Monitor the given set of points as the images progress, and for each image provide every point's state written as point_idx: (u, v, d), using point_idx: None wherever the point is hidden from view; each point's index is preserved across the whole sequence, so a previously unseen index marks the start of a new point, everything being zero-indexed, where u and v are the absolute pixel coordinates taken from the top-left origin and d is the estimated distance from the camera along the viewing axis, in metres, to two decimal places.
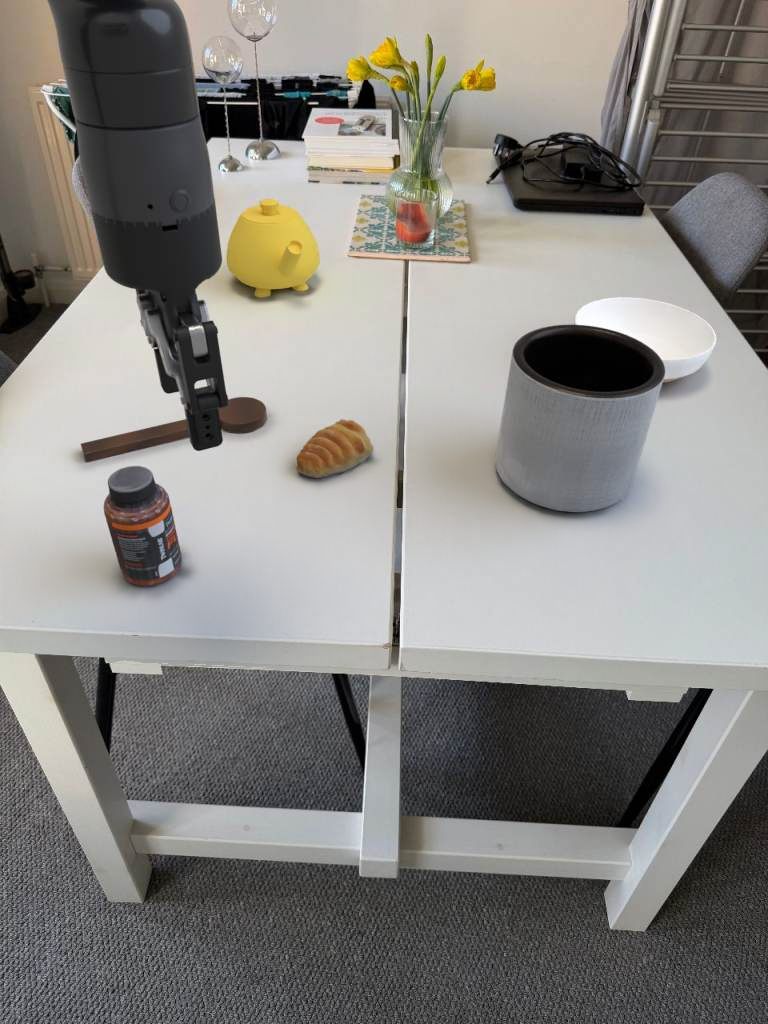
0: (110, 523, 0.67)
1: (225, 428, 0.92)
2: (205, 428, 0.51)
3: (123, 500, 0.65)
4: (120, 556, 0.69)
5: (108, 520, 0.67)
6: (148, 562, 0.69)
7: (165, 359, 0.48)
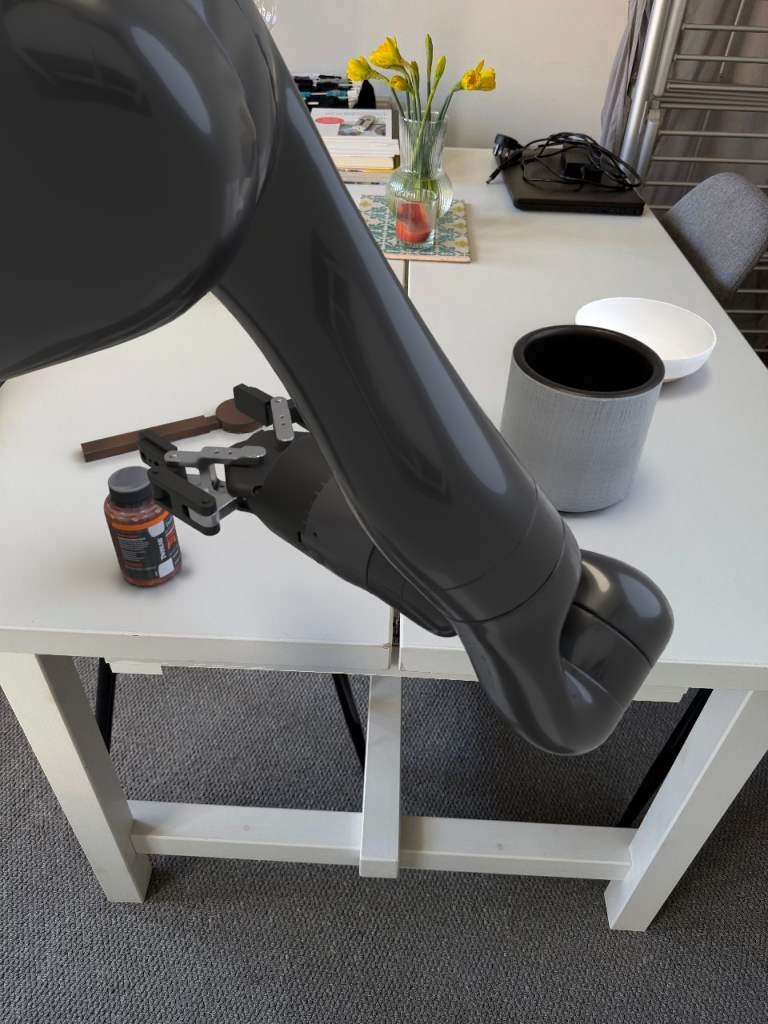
0: (110, 523, 0.67)
1: (225, 428, 0.92)
2: (149, 458, 0.50)
3: (123, 500, 0.65)
4: (120, 556, 0.69)
5: (108, 520, 0.67)
6: (148, 562, 0.69)
7: (212, 457, 0.48)
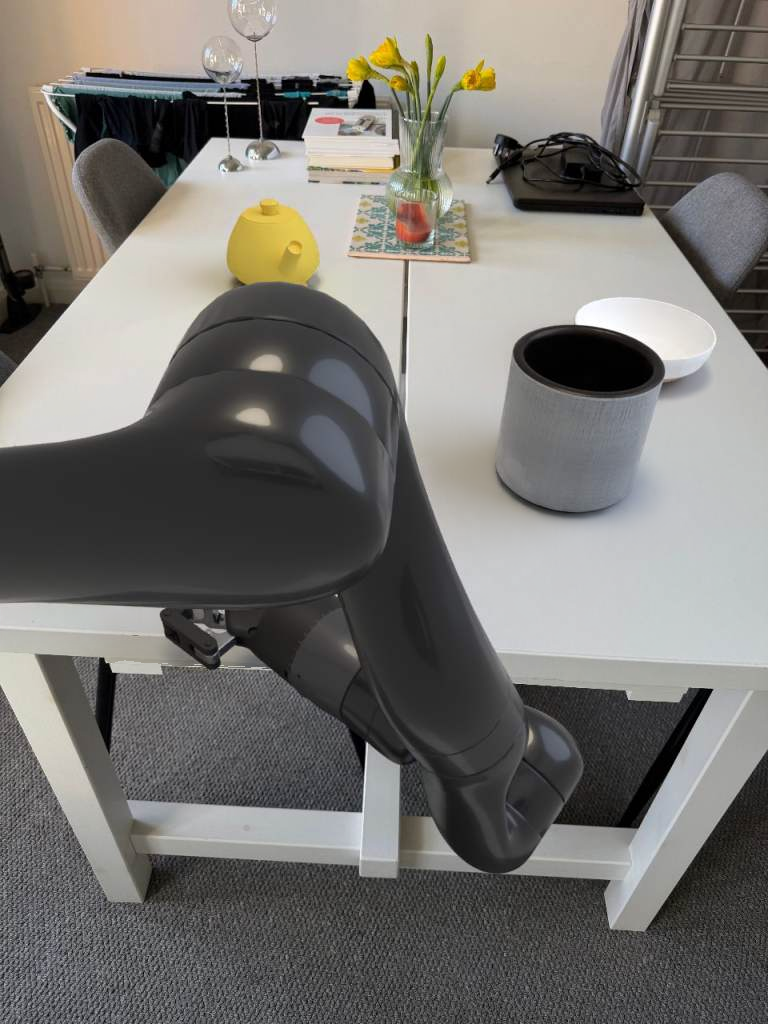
0: None
1: None
2: None
3: None
4: None
5: None
6: None
7: None
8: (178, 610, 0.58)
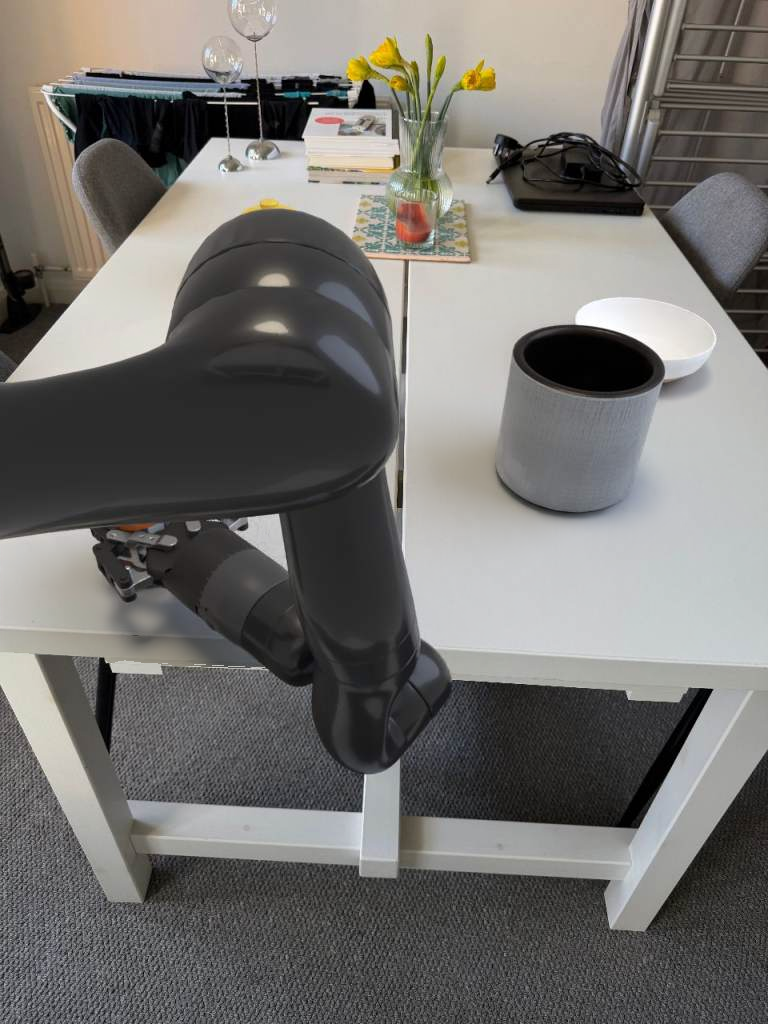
0: None
1: None
2: (96, 534, 0.66)
3: None
4: None
5: None
6: None
7: (137, 540, 0.64)
8: (110, 545, 0.64)
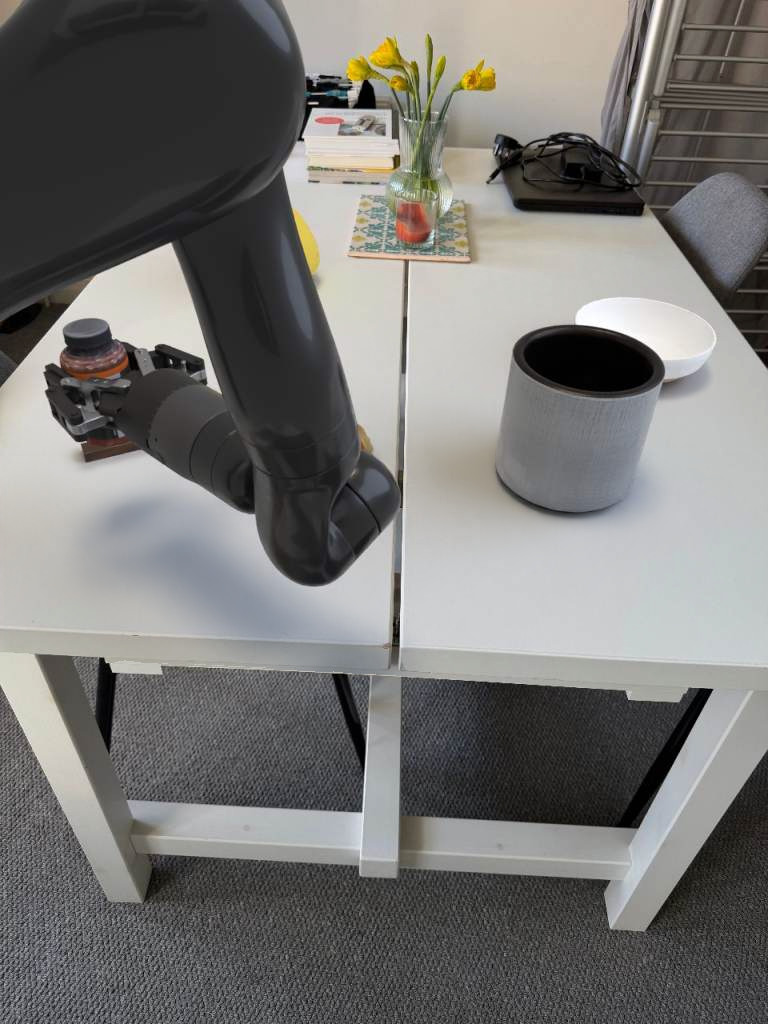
0: None
1: None
2: (52, 384, 0.66)
3: (78, 347, 0.64)
4: None
5: None
6: None
7: (90, 384, 0.63)
8: (64, 391, 0.64)
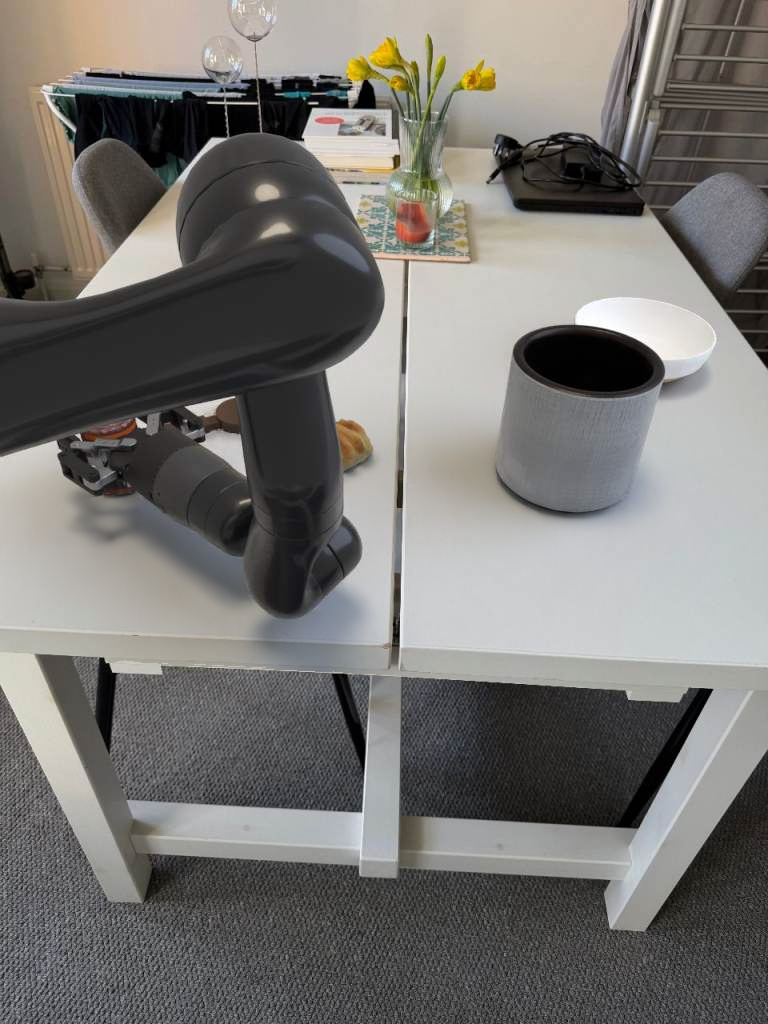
0: (83, 436, 0.77)
1: (225, 428, 0.92)
2: (62, 446, 0.75)
3: None
4: None
5: (81, 433, 0.77)
6: None
7: (100, 445, 0.73)
8: (73, 454, 0.74)
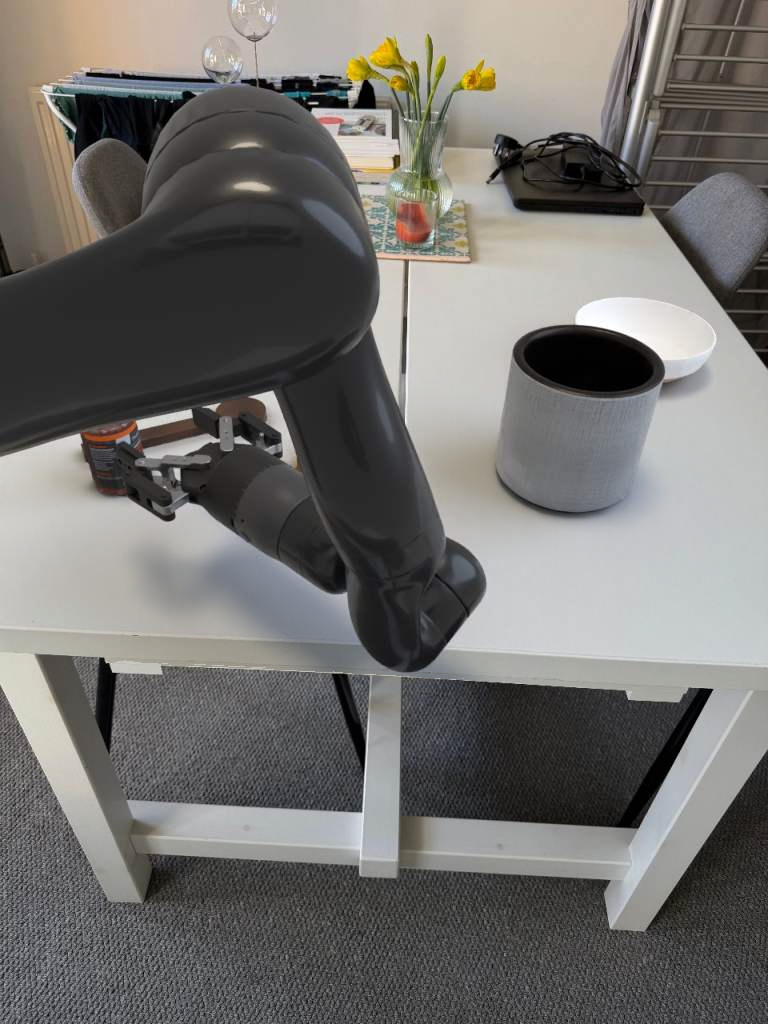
0: (83, 436, 0.77)
1: None
2: (124, 463, 0.66)
3: None
4: (92, 467, 0.80)
5: (81, 433, 0.77)
6: (117, 471, 0.79)
7: (170, 463, 0.64)
8: (138, 473, 0.65)
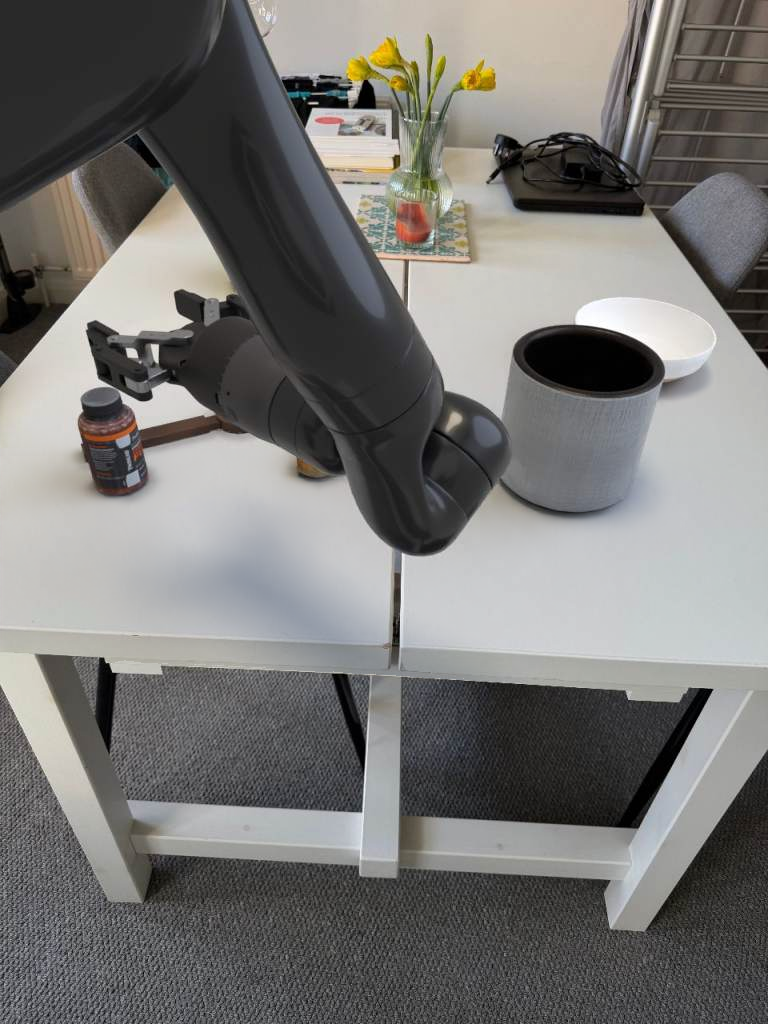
0: (83, 436, 0.77)
1: (225, 428, 0.92)
2: (95, 343, 0.58)
3: (94, 414, 0.76)
4: (92, 467, 0.80)
5: (81, 433, 0.77)
6: (117, 471, 0.79)
7: (147, 338, 0.56)
8: None
